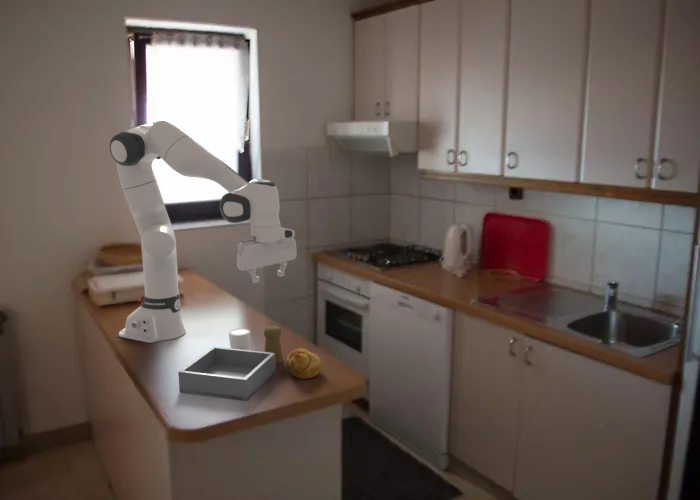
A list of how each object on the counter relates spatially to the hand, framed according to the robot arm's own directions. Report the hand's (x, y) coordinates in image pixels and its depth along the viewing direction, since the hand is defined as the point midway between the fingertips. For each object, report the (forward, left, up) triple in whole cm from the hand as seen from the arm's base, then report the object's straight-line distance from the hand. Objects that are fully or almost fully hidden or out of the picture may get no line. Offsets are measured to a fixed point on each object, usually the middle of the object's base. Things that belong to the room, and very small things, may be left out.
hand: (268, 279), depth 188 cm
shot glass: (-12, +3, -26) cm, 29 cm away
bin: (-5, -19, -26) cm, 32 cm away
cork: (+1, -1, -26) cm, 26 cm away
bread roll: (+13, -7, -26) cm, 30 cm away
